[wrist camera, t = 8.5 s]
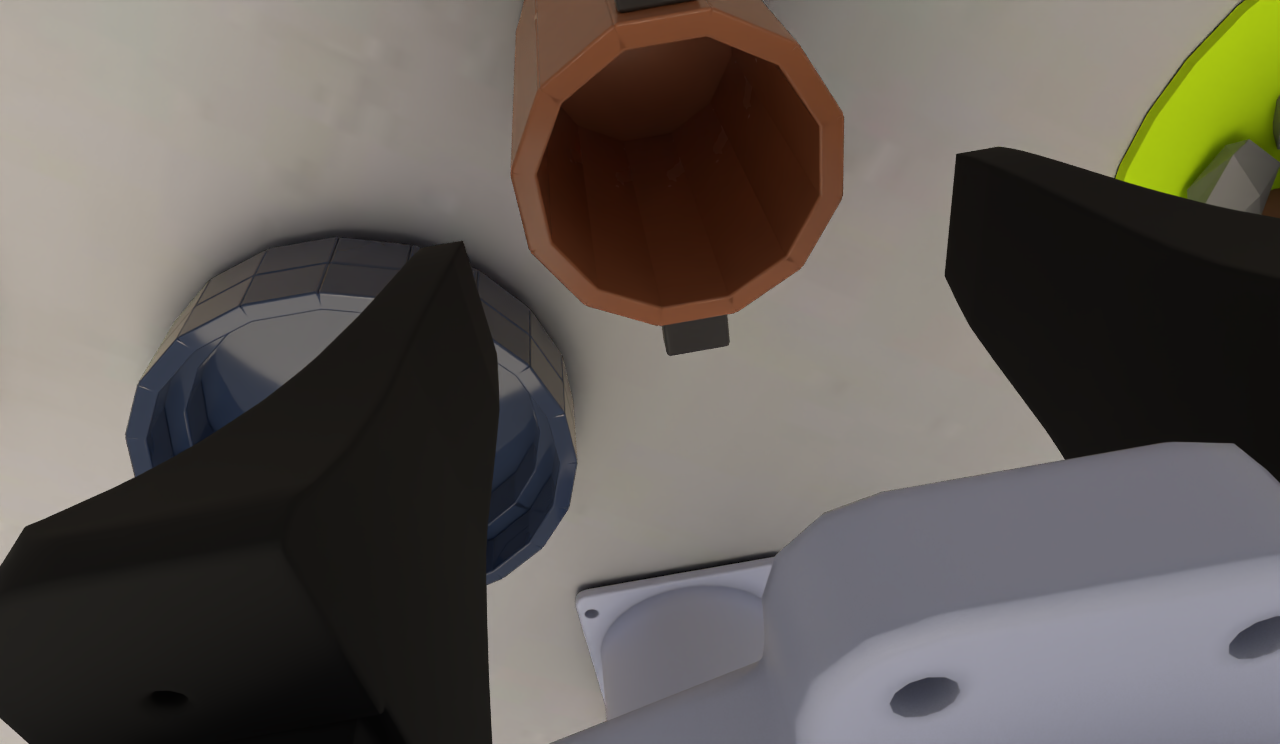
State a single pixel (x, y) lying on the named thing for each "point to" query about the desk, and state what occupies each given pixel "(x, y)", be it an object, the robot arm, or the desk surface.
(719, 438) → the desk surface
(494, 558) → the pan
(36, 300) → the desk surface
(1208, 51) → the toy cauldron
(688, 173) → the copper pot
